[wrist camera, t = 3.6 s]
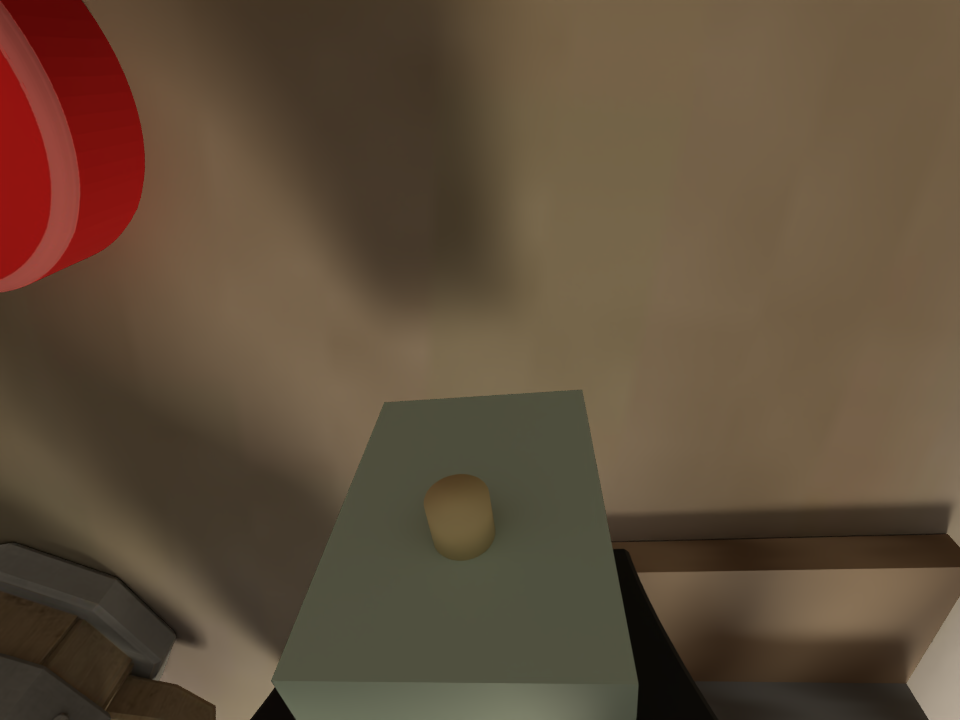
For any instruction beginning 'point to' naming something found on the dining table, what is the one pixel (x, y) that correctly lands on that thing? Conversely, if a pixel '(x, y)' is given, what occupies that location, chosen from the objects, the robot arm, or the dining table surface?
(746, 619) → the cleat wall
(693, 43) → the dining table surface
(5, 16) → the decorative ornament
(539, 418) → the mini cabinet
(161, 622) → the tankard
